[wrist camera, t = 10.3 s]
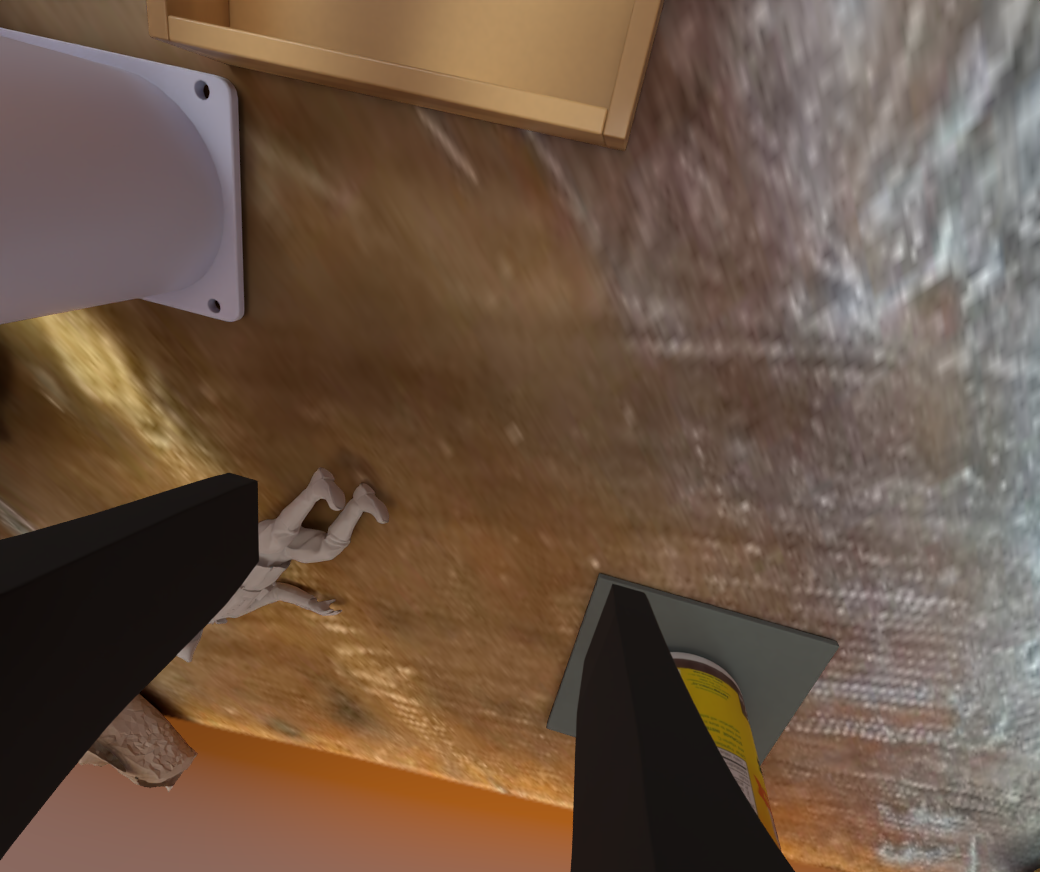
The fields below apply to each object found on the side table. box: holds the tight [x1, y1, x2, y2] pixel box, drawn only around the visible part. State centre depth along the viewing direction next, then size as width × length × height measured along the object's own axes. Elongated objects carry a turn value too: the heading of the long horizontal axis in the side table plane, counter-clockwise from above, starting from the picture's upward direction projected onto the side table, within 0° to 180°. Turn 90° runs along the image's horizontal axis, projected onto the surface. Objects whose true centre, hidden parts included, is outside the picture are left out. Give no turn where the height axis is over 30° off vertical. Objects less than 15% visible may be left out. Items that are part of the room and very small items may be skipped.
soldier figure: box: [177, 467, 389, 662], centre depth 23 cm, size 8×5×12 cm
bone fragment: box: [78, 694, 197, 792], centre depth 30 cm, size 14×6×5 cm, turn 55°
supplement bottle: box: [670, 652, 781, 851], centre depth 19 cm, size 6×6×10 cm
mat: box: [546, 573, 839, 765], centre depth 24 cm, size 10×10×1 cm
